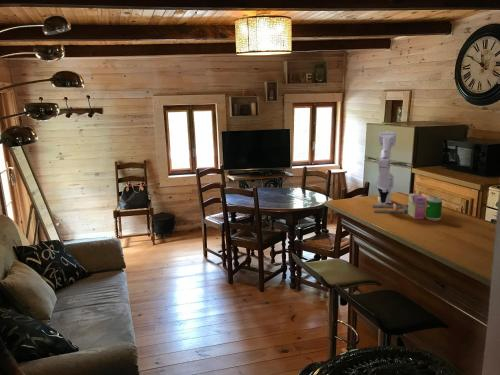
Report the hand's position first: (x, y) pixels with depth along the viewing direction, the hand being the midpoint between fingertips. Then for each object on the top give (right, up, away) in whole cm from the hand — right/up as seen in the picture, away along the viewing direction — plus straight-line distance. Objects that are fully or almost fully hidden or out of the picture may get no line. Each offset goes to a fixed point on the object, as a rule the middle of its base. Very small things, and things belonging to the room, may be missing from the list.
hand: (382, 201), depth 243 cm
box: (+14, -8, -13) cm, 21 cm away
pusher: (+7, -5, 0) cm, 9 cm away
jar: (-1, -2, 0) cm, 2 cm away
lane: (+4, -5, 0) cm, 7 cm away
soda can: (+21, -9, -20) cm, 30 cm away
